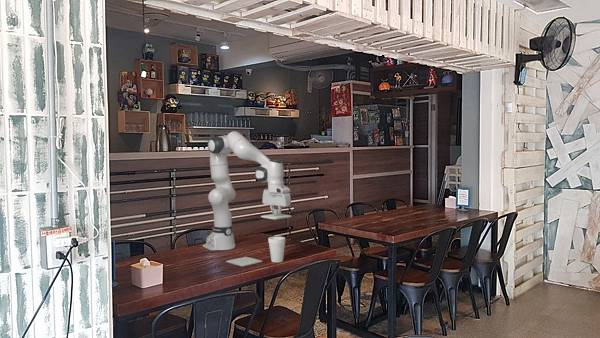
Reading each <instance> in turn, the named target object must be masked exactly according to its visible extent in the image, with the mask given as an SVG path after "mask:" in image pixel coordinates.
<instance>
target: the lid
mask: <svg viewBox="0 0 600 338" xmlns="http://www.w3.org/2000/svg"><path fill="white" fill-rule="evenodd" d="M278 209H279V208H274V209H273V213H270V214H264V215H261V216H260V218H263V219H268V220H269V219H270V220H280V219H287V218H292V215H290V214H284V213H281V214H277V211H278Z"/></svg>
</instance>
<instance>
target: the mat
mask: <svg viewBox="0 0 600 338" xmlns="http://www.w3.org/2000/svg"><path fill="white" fill-rule="evenodd" d="M225 262H226V263H229V264H232V265H235V266H240V267H246V266H250V265H255V264H260V263H263V260H261V259H256V258H254V257H248V256H243V257H238V258H233V259H229V260H225Z"/></svg>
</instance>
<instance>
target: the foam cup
mask: <svg viewBox="0 0 600 338" xmlns="http://www.w3.org/2000/svg"><path fill="white" fill-rule="evenodd" d="M267 241H268V246H269V253H270V259H271V262H272V263H282V262H283V261H284V254H285V245H286V237H285V236H270V237H268V239H267Z"/></svg>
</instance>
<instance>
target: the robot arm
mask: <svg viewBox="0 0 600 338" xmlns="http://www.w3.org/2000/svg"><path fill="white" fill-rule="evenodd" d="M207 149H208V151H209V152H210V153H209V169H210V177H211V180H212V181H213V183H214V187H215V188H213V189H212V190H211V191H210V192H209V193H208V195H207V200H208V202H209V203H210V204H211V207H212V213H213V226H212V227H211V229H212V232H211V233H210V234H208V236H206V242H205V243H204V244H202V248H205V249H207V250H210V251H228V250H229V251H230V250H232V249H235V248H236V246H237V244H236V243H235V236H234V233H233V229H234V228H233V221H232V219H233V218H232V217H233V216H232V215H233V214H232V212H231V211H230V207H229V203H230V202H232V201H233V200H234V199H235V197H236V196H237V195H236V190H235V188H234V186H233V184H232V181H231V178H230V170H229V164H228V163H229V162H228V155H229V154H230V155H232V154H234V155H235V156H236V157H238V158H239V159H241V160H245V161H251V162H252V161H253V162H256V163H258V164H260V165H259V166H257V167H256V169H255V172H254V177H255V179H256V181H258V182H259V183H267V187H265V188H264V189H263V193H262V204H263V205H269V207H270V208H269V209H270V210H271V214H273V209H275V206H276V207H277V209H278V211H277V214H282V210H283V207H285V208H286V207H287V208H288V207H290V206H291V203H292V201H291V198H292V197H291V193H290V192H291V188H289V187H287V185H285V182H284V175H285V171H284V164H283V162H282V161H281V160H279V159H271V158H270V157H269V156H267V154H266V153H265V152H263V151H262V150H260V149H259V148H257V146H255V145H253V144H252V143H251V142H250V141H249V140H248V139H247V138H246V137H245V135H242V134H241V133H240V132H238V131H236V130H235V131H233V130H232V131H231V132H229V133H228V134H227V135H225V134H224V135H218V136H213V137H210V138H209V139H208V141H207Z"/></svg>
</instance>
